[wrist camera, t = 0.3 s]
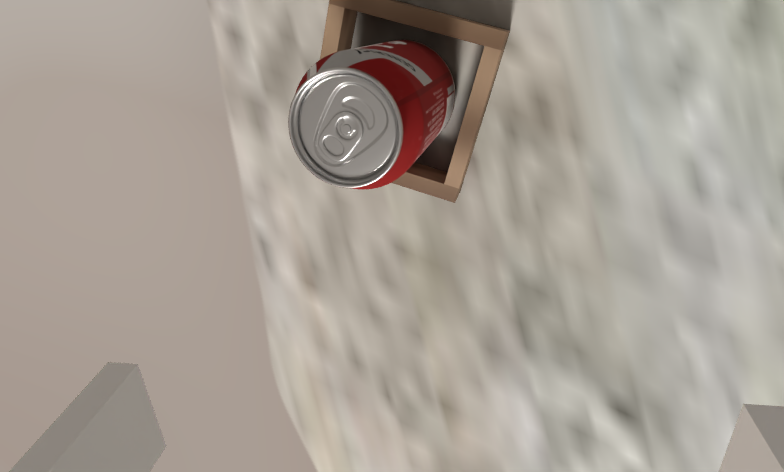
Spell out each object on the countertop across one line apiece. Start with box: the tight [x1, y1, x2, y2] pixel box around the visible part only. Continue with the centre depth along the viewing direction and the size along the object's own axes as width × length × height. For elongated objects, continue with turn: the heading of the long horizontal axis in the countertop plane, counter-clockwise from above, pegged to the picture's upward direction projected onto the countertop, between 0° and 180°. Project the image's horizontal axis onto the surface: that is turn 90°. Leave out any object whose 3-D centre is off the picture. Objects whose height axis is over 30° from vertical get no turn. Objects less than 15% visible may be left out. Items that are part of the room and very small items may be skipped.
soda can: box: [288, 40, 455, 189], centre depth 29 cm, size 7×7×12 cm
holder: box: [320, 0, 510, 203], centre depth 33 cm, size 11×11×2 cm
